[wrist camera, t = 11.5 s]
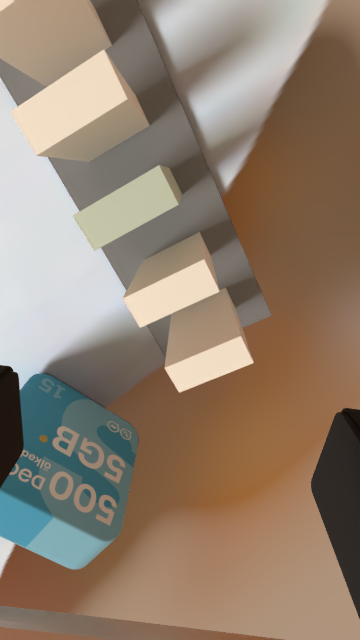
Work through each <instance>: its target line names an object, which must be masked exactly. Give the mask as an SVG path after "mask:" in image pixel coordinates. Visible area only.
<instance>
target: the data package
mask: <svg viewBox="0 0 360 640" xmlns="http://www.w3.org/2000/svg"><path fill="white" fill-rule="evenodd" d="M20 402H21V415H22V427H23V439H24V447H23V451H22V454H21V456H20V458H19V460H18V461H17V463H16V464H15V466H14V467H13V469H12V471H11V472H10V474H9V475H8V477H7V478H6V480H5V482H4V483H3V485H2V486H1V488H0V537H3V538H5V539H7V540H9V541H11V542H13V543H15V544H18V545H20V546H22V547H24V548H26V549H28V550H31V551H33V552H35V553H37V554H39V555H41V556H43V557H46V558H48V559H50V560H52V561H54V562H57V563H59V564H61V565H63V566H65V567H68V568H70V569H80V568H83V567H84V566H86V565H87V564H88V563H89V562H90V561H91V560H92V559H94V558H95V557H96V556H97V555H98V554H99V553H100V552H101V551H102V550H103V549H105V548H106V546H108V545H109V544H110V543H111V542H112V541H113V540H114V539H116V538H117V536H118V535H119V534H120V532H121V529H122V524H123V519H124V514H125V509H126V503H127V498H128V493H129V488H130V483H131V478H132V472H133V467H134V462H135V457H136V452H137V446H138V441H139V439H138V434H137V432H136V430H135V428H134V427H133V426H132V425H131V424H130V423H128V422H127V421H125V420H123V419H122V418H120V417H118V416H117V415H115V414H113V413H112V412H110V411H109V410H107V409H105V408H104V407H102V406H100V405H99V404H97V403H95V402H94V401H92V400H90V399H89V398H87V397H86V396H84V395H82V394H81V393H79V392H77V391H76V390H74V389H72V388H71V387H69V386H67V385H66V384H64V383H62V382H61V381H59V380H58V379H56V378H54V377H52V376H50V375H48V374H35V375H33V376H32V377H31V378H30V379H29V380H28V381H27V383H26V384H25V385H24V386H23V388H22V389H21V390H20Z"/></svg>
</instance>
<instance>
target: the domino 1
mask: <svg viewBox="0 0 360 640" xmlns="http://www.w3.org/2000/svg"><path fill="white" fill-rule="evenodd" d="M111 46H112V44H111V42H110V40H109V38H108V35H107V33H106V31H105V29H104V27H103V25H102V23H101V20H100V18H99V16H98V14H97V12H96V10H95V8H94V6H93V4H92V3H91V1H90V0H0V59H2V60H3V61H5V62H7V63H8V64H10V65H12V66H13V67H15V68H16V69H18V70H20V71H21V72H23V73H25V74H26V75H28V76H30V77H31V78H33V79H35V80H36V81H38V82H40V83H41V84H43V85H44V86H46V87H48V86H49V85H51V84H52V83H54V82H55V81H57V80H58V79H60V78H61V77H63V76H64V75H66V74H67V73H69V72H70V71H72V70H73V69H75V68H76V67H78V66H79V65H81V64H82V63H84V62H85V61H87V60H88V59H90V58H91V57H93V56H94V55H96V54H97V53H99V52H100V51H102V50H103V49H104V50H106V49H108V48H109V47H111Z"/></svg>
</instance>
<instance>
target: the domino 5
mask: <svg viewBox="0 0 360 640" xmlns="http://www.w3.org/2000/svg"><path fill="white" fill-rule="evenodd" d="M219 291H220V292H218V293H216V294H213V295H211V296H209V297H207V298H205V299H202V300H200V301H198V302H196V303H194V304H191V305H189V306H187V307H185V308H183V309H180V310H178V311H176V312H174V313H172V314H171V321H170V329H169V337H168V344H167V352H166V360H165V367H164V368H165V370H166V372H167V373H168V375H169V376H170V378H171V380H172V381H173V383H174V385H175V387H176V388H177V390H178V392H179V393H180V392H182V391H185V390H187V389H190V388H192V387H195V386H197V385H200V384H202V383H205V382H207V381H210V380H212V379H215V378H217V377H220V376H222V375H225V374H227V373H230V372H232V371H235V370H237V369H240V368H242V367H245V366H247V365H249V364H252V363H253V359H252V356H251V353H250V351H249V347H248V344H247V341H246V338H245V336H244V333H243V330H242V327H241V324H240V321H239V318H238V315H237V312H236V309H235V306H234V304H233V302H232V300H231V298H230V296H229V294H228V292H227V289H226V287H225V288H223V289H221V290H219Z"/></svg>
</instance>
